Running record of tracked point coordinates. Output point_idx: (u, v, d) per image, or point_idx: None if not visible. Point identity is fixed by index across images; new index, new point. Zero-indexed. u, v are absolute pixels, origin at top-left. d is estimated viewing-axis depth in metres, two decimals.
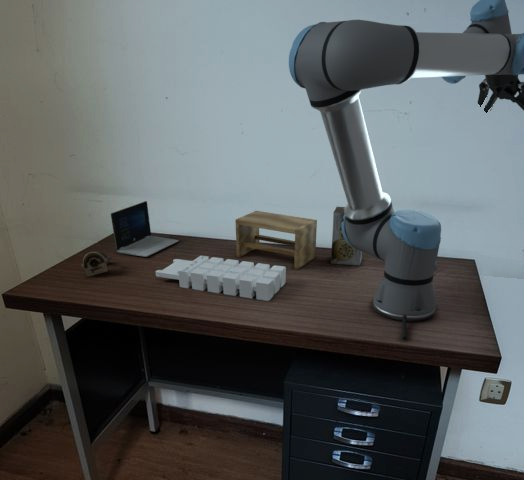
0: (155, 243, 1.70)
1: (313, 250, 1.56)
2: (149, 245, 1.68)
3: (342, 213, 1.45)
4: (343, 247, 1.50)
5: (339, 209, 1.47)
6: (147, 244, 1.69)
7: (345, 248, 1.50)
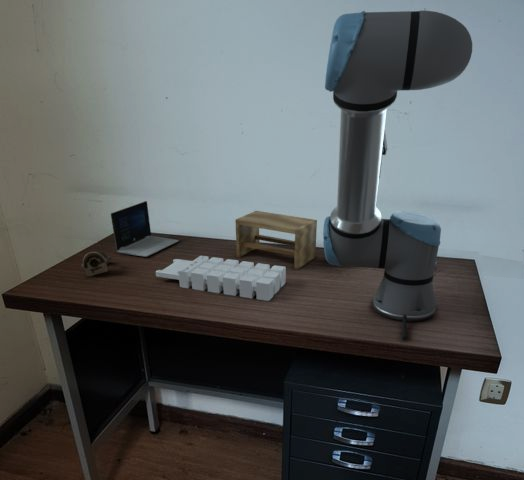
0: (155, 243, 1.70)
1: (313, 250, 1.56)
2: (149, 245, 1.68)
3: None
4: None
5: None
6: (147, 244, 1.69)
7: None
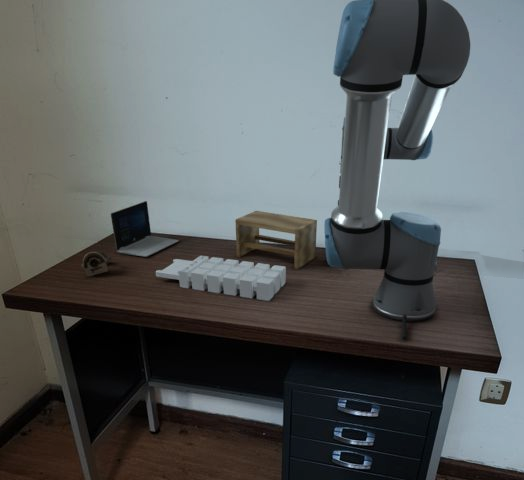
0: (155, 243, 1.70)
1: (313, 250, 1.56)
2: (149, 245, 1.68)
3: None
4: None
5: None
6: (147, 244, 1.69)
7: None
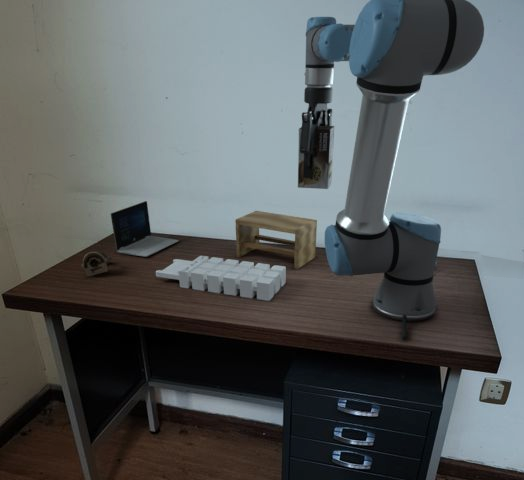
0: (155, 243, 1.70)
1: (313, 250, 1.56)
2: (149, 245, 1.68)
3: None
4: None
5: None
6: (147, 244, 1.69)
7: None
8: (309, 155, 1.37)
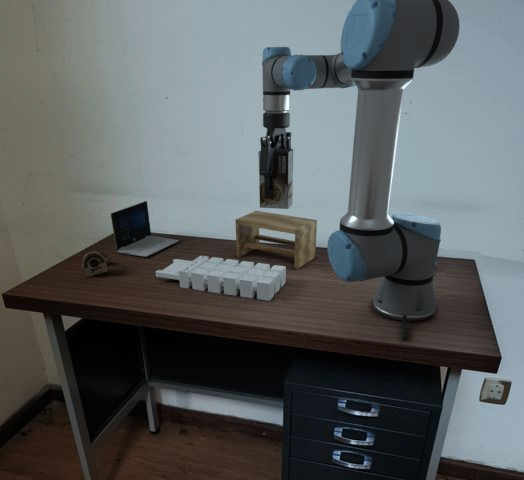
0: (155, 243, 1.70)
1: (313, 250, 1.56)
2: (149, 245, 1.68)
3: None
4: None
5: None
6: (147, 244, 1.69)
7: None
8: (269, 177, 1.42)
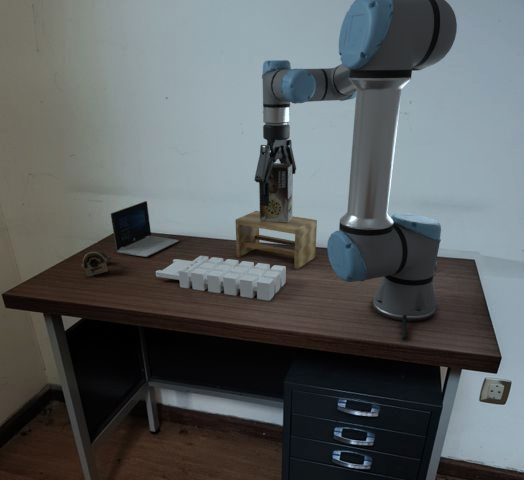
0: (155, 243, 1.70)
1: (313, 250, 1.56)
2: (149, 245, 1.68)
3: None
4: (270, 204, 1.48)
5: None
6: (147, 244, 1.69)
7: (272, 204, 1.48)
8: (264, 184, 1.41)
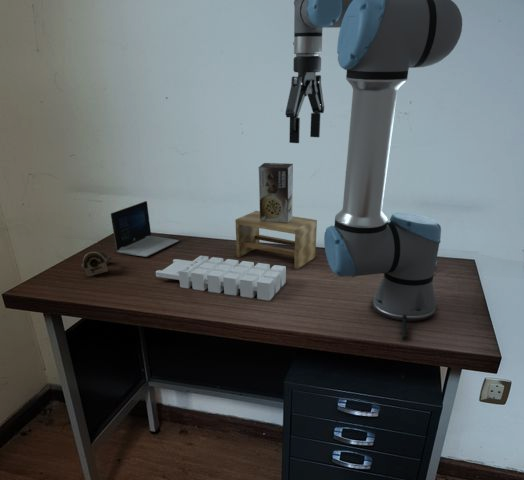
0: (155, 243, 1.70)
1: (313, 250, 1.56)
2: (149, 245, 1.68)
3: (267, 168, 1.43)
4: (270, 204, 1.48)
5: (265, 164, 1.45)
6: (147, 244, 1.69)
7: (272, 204, 1.48)
8: (295, 119, 1.36)
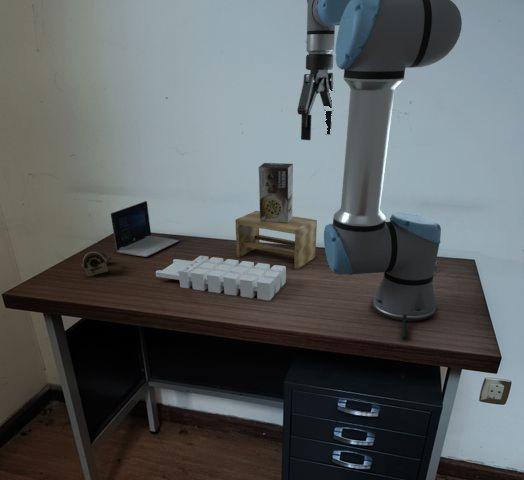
0: (155, 243, 1.70)
1: (313, 250, 1.56)
2: (149, 245, 1.68)
3: (267, 168, 1.43)
4: (270, 204, 1.48)
5: (265, 164, 1.45)
6: (147, 244, 1.69)
7: (272, 204, 1.48)
8: (307, 116, 1.38)
